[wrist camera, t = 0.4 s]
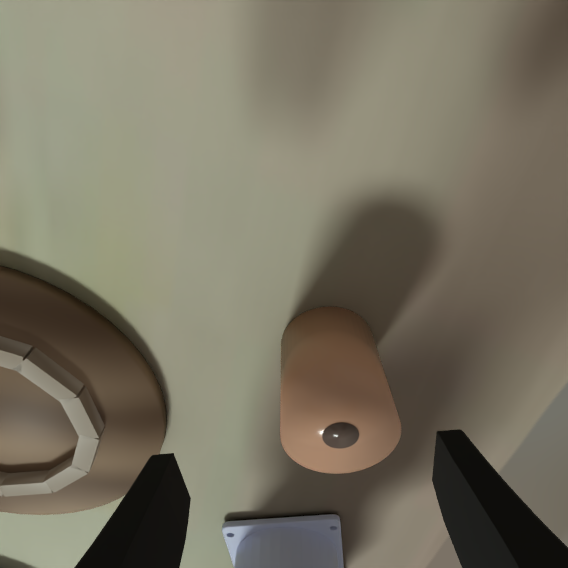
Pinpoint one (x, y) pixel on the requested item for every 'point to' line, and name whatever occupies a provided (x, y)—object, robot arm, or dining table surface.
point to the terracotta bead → (335, 394)
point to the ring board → (69, 402)
